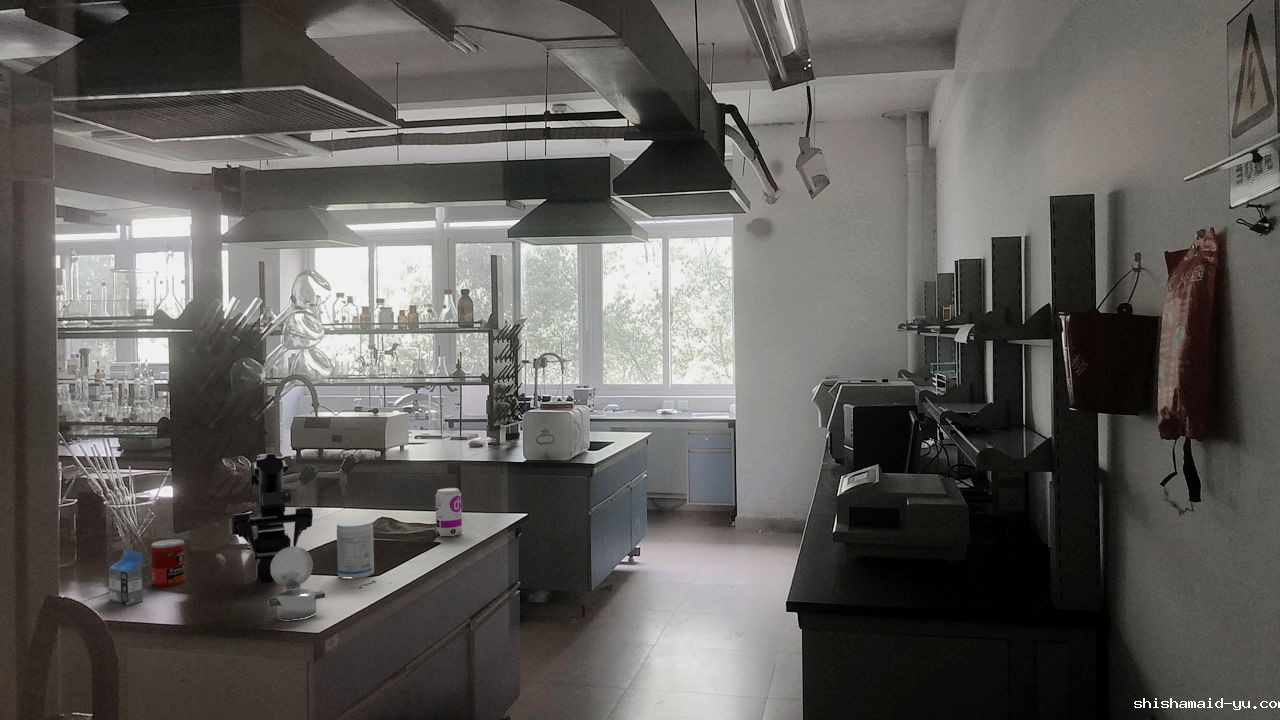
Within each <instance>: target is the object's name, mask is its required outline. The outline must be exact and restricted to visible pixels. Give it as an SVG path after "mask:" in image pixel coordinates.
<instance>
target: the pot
mask: <svg viewBox="0 0 1280 720" xmlns="http://www.w3.org/2000/svg"><path fill="white" fill-rule="evenodd" d="M284 591H285V592H281V593H279V594H278V595H277V596H276V598H270V599H267V605H268V607H270V608H272V607H276V606H277V607H276V608H277V609H276V611H277V619H278V618H279V619H282V620H293V619H300V618H305V617H308V616H311V615H313V614H315V613H316V614H317V600H321V599H325V598H326V593H325V591H324V590H320V591H319V590H318V591H316V590H314V589H310V588H309V589H308V588H307V589H306V588H305V589H301V587H300V588H295V589H288V590H286V589H285V590H284Z"/></svg>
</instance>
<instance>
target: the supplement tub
mask: <svg viewBox="0 0 1280 720" xmlns="http://www.w3.org/2000/svg"><path fill="white" fill-rule="evenodd" d="M374 549H375V548H374V525H373V520H371V519H369V518H368V519H367V518H354V519H346V520H342V521H341V520H340V521H339V522H337V523H336V551H337V552H336V553H337V555H336V556H337V575H338V577H339V578H340V577H352V578H359V579H363V578H367V577H370V576H372V575H373V573H374V572H375V559H374V558H375V553H374V552H375V551H374ZM343 580H349V579H348V578H346V579H345V578H344V579H343Z"/></svg>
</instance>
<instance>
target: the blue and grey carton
mask: <svg viewBox="0 0 1280 720" xmlns="http://www.w3.org/2000/svg"><path fill="white" fill-rule="evenodd" d="M122 551H123V552H122V559H120V560H119V561H118V562H115V563H114V564H113V565H111V566H110V567H108V583H109V585H108V587H109V601H110V602H111V601H112V602H116V603H120V604H123V605H127V606H131V605H135V604H138V602H139V603H142V602H143V575H142V573H143V571H142V565H143V564H142V561H143V560H142V559H143V557H142V554H143V552H141V551H136V550H130V549H126V548H123V549H122ZM131 556H134V557H131Z"/></svg>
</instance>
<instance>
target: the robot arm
mask: <svg viewBox="0 0 1280 720" xmlns="http://www.w3.org/2000/svg"><path fill="white" fill-rule="evenodd" d="M287 471H289V466H288V464H287V462H286V461H285V460H283V457H282V456H277V455H276V453H261V454H259V455H256V460H255V462H253V464H252V465H251V466H250V487H253V494H255V495H256V496H258V498H259V500H258V501H259V516H257V517H256V516H255V517H254V516H253V517H250V512H245V513H243V512H242V513H234V514H233V515H232V516H231V524H232V535H234V536H237V537H239V538H243V539H244V540H245V541H246V543H247V544H248V545H249V547H250V549H251V550H252V552H253V555H254V560H255V561H256V560H257V562H256V563H255V572H256V573H255V574H256V575H255V576H256V577H255V578H256V579H257V580H258V581H259V582H260V583H261V584H262V583H264V584H265V583H269V582H276V581H275V580H274V579H273V577H272V575H271V571H270V567H271V562H272V560H273V558H274V556H275V555H276V554H277V553H278V552H279V551H281V550H282V549H284V548H287V547H297V544H298V541H299V538H300V536H301V534H302V532H303V531H306V530H308V529H307V528H311V527H312V526H313V516H314V515H313V509H312V508H311V507H310V506H305V507H297V508H296V507H295V513H289V514H285V512H286V504H289V503H291V502H292V491H291V488H286V489H283V488H284V487H283V480H284V474H286V473H287ZM289 523H290V524H291V523H294V531H293V540H292V541H293V542H292V543H293V545H292V546H291V544H292V543H291V539H292V538H290V537H289V534H288V533H286V529H285V525H284V524H289ZM256 526H257V528H256V536H254V533H253V527H256Z"/></svg>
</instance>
